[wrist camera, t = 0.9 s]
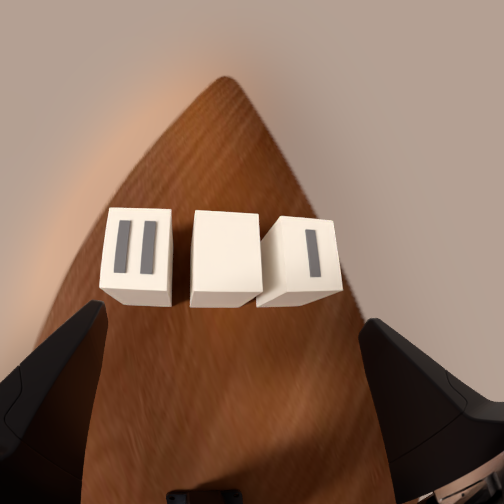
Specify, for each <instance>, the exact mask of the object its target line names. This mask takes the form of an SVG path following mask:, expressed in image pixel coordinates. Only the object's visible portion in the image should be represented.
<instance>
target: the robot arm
mask: <svg viewBox="0 0 504 504" xmlns="http://www.w3.org/2000/svg"><path fill="white" fill-rule="evenodd" d="M107 329H108V318H107V313H106V307H105V304H104V302H103V301H98V300H91V301H89V302H88V303H87V304H86V305H85V306H83V307H82V308H81V309H80V310H79V311H78V312H76V313H75V314H74V315H73V316H72V317H71V318H69V319H68V320H67V321H66V322H65V323H64V324H62V325H61V326H60V327H59V328H58V329H57V330H56V331H55V332H53V333H52V334H51V335H50V336H49V337H48V338H47V339H46V340H45V341H44V342H42V343H41V344H40V345H39V346H38V347H37V348H36V349H35V350H34V351H33V352H32V353H31V354H30V355H29V356H27V357H26V358H25V359H24V360H23V361H22V362H21V363H20V366H17V367H16V368H15V369H14V370H13V371H12V372H11V373H10V374H9V375H8V376H7V377H6V378H5V379H4V380H3V381H2V382H0V504H81V488H82V481H81V480H82V475H83V465H84V457H85V449H86V442H87V436H88V430H89V424H90V418H91V413H92V408H93V403H94V398H95V394H96V389H97V385H98V381H99V377H100V372H101V367H102V361H103V353H104V347H105V341H106V335H107ZM358 340H359V344H360V349H361V354H362V359H363V364H364V369H365V373H366V377H367V381H368V384H369V387H370V391H371V394H372V398H373V402H374V405H375V409H376V413H377V416H378V420H379V424H380V428H381V432H382V436H383V440H384V445H385V449H386V453H387V458H388V462H389V468H390V473H391V478H392V483H393V488H394V494H395V499H396V504H402V503H405V502H408V501H411V500H413V499H416V498H418V497H421V496H423V495H426V494H428V493H430V492H433V493H432V494H431V495H429V496H428V497H426V498H425V499H423V500H421V501H420V502H418V503H417V504H504V402H493V401H490V400H488V399H486V398H485V397H483V396H482V395H480V394H479V393H477V392H476V391H474V390H473V389H472V388H470V387H469V386H467V385H466V384H464V383H463V382H461V381H460V380H459V379H457V378H456V377H455V376H453V375H452V374H451V373H450V372H448V371H447V370H445V369H444V368H443V367H442V366H441V365H439V364H438V363H437V362H435V361H434V360H433V359H432V358H430V357H429V356H428V355H426V354H425V353H424V352H422V351H421V350H420V349H418V348H417V347H416V346H415V345H413V344H412V343H411V342H409V341H408V340H407V339H405V338H404V337H403V336H401V335H400V334H399V333H398V332H396V331H395V330H394V329H392V328H391V327H389V326H388V325H387V324H385V323H384V322H383V321H381V320H380V319H378V318H370V319H368V320H367V322H366V323H365V325H364V327H363V328H362V330H361V331H360V333H359V337H358ZM236 493H237V494H238V495H236V496H235V495H234V494H236ZM170 496H173V497H174V498H170ZM166 500H167V504H243V499H242V493H241V491H240V490H225V491H217V490H215V491H190V492H169V493H167V494H166Z"/></svg>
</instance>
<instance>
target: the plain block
mask: <svg viewBox="0 0 504 504" xmlns="http://www.w3.org/2000/svg"><path fill="white" fill-rule="evenodd" d="M262 292H263V284H262V267H261V250H260V234H259V218H258V214H249V213H234V212H218V211H200V210H195V217H194V225H193V233H192V242H191V259H190V307H222V308H227V307H240V306H242V305H244V304H245V303H247V302H248V301H250V300H251V299H253V298H254V297H256V296H257V295H259V294H260V293H262Z"/></svg>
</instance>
